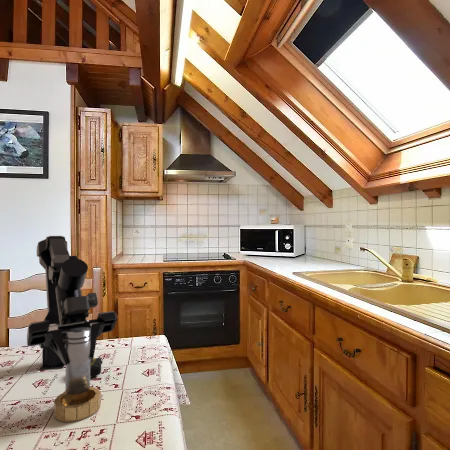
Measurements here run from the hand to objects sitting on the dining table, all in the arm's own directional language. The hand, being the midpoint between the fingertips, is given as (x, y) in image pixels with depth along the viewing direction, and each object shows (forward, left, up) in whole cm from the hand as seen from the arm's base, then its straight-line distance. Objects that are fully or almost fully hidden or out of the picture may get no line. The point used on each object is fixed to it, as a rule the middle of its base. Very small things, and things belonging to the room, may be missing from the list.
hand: (79, 361), depth 69 cm
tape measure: (-3, +20, -11) cm, 23 cm away
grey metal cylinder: (-1, +1, -7) cm, 7 cm away
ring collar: (-1, +1, -11) cm, 11 cm away
